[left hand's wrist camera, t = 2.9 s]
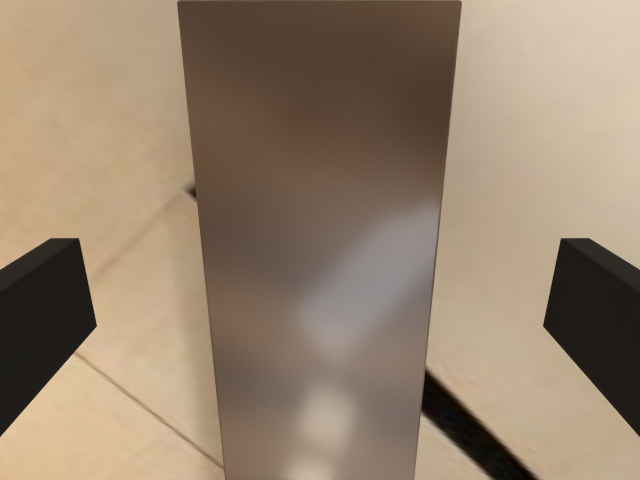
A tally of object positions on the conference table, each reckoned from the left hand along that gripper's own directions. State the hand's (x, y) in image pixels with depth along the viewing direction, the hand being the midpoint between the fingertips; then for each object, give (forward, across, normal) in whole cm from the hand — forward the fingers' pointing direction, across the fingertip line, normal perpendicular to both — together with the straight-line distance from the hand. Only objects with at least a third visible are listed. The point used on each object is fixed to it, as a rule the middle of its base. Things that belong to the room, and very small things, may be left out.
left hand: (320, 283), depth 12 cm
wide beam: (+12, 0, -30) cm, 33 cm away
